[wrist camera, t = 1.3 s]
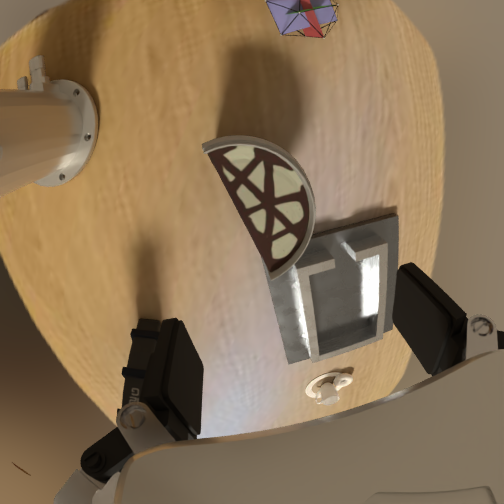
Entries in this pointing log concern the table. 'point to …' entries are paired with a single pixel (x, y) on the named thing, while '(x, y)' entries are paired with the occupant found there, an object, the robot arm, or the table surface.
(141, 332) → the black tall block
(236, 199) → the food container
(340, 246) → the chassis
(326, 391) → the white curved piece
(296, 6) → the geometric puzzle
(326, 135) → the table surface
